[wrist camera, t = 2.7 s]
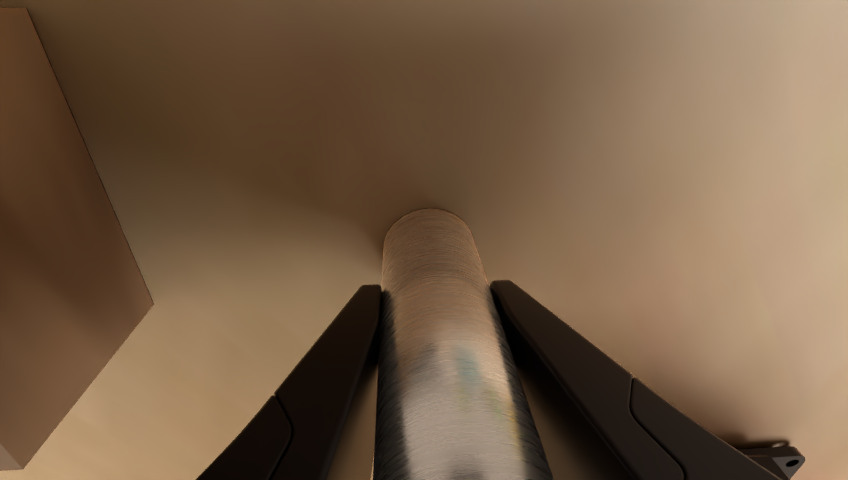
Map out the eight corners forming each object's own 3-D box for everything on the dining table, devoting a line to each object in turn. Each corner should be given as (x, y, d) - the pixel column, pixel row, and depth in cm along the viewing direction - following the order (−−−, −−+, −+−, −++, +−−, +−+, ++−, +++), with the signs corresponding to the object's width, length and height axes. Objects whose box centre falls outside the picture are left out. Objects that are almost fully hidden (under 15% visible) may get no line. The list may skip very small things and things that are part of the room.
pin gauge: (470, 284, 11) (589, 722, 4) (385, 287, 11) (370, 743, 4) (476, 207, 10) (653, 647, 3) (381, 209, 10) (350, 674, 3)
